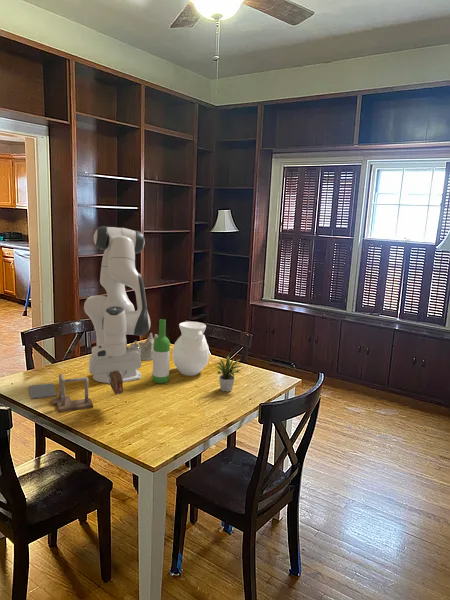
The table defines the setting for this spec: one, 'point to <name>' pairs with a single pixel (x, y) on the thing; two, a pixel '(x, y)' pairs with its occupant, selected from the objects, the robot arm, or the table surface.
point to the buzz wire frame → (65, 402)
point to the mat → (42, 390)
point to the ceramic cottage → (146, 347)
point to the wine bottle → (161, 355)
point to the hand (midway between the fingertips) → (115, 381)
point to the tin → (116, 382)
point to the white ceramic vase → (191, 348)
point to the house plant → (227, 374)
